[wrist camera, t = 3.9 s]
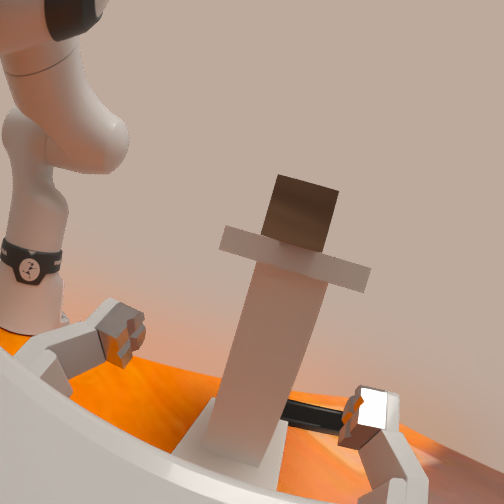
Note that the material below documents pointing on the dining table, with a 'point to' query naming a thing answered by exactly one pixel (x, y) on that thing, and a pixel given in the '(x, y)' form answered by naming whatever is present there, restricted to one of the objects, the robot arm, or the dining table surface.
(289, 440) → the dining table surface
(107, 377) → the dining table surface
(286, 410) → the phone
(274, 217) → the walnut bar
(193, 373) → the dining table surface
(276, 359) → the pedestal
